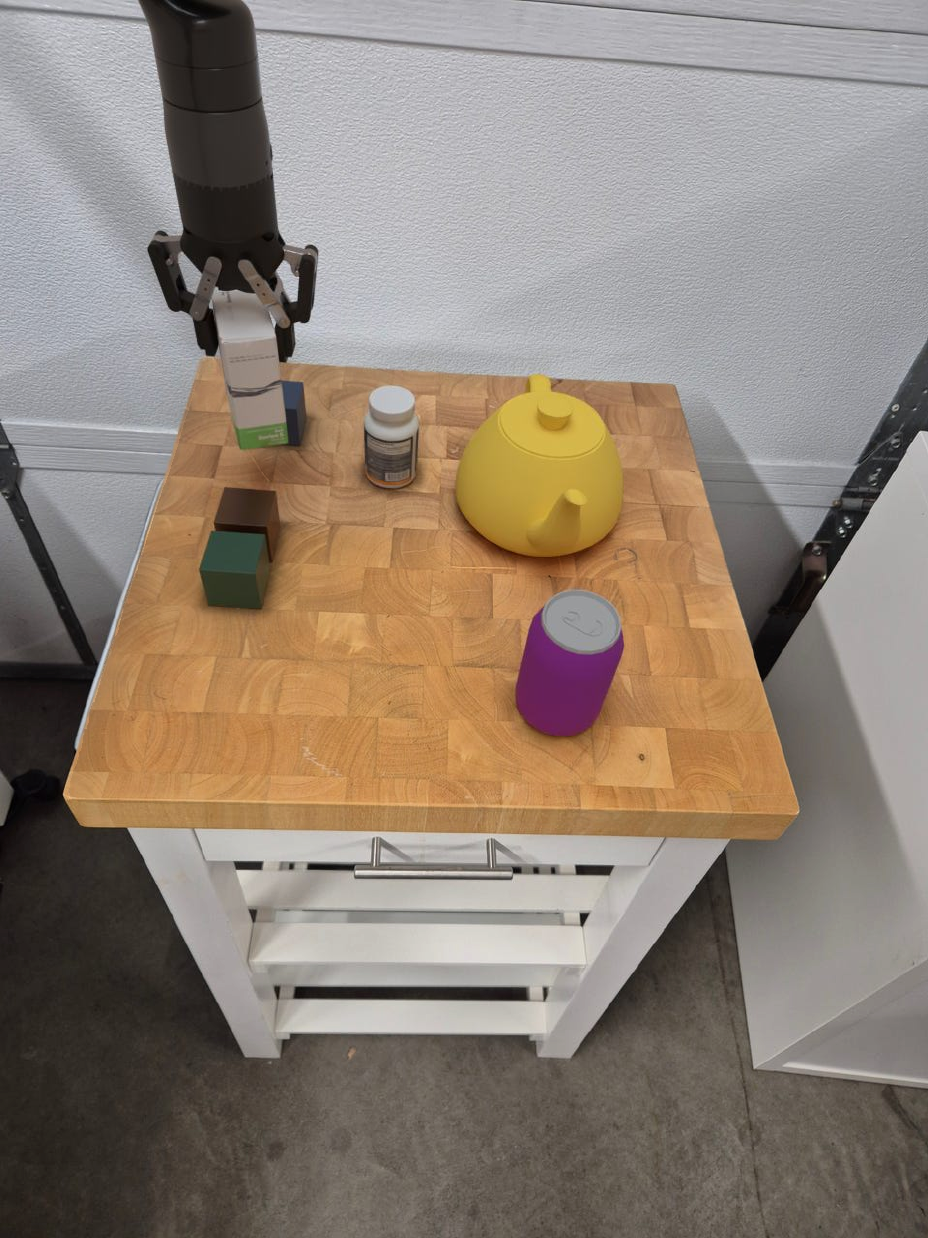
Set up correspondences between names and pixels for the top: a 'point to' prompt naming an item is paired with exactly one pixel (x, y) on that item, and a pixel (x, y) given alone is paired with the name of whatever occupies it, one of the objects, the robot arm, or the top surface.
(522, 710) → the beverage can
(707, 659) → the top surface
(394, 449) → the pill bottle
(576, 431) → the teapot
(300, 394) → the slate block
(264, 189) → the robot arm
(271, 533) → the walnut block
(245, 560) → the green block
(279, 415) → the ink box
